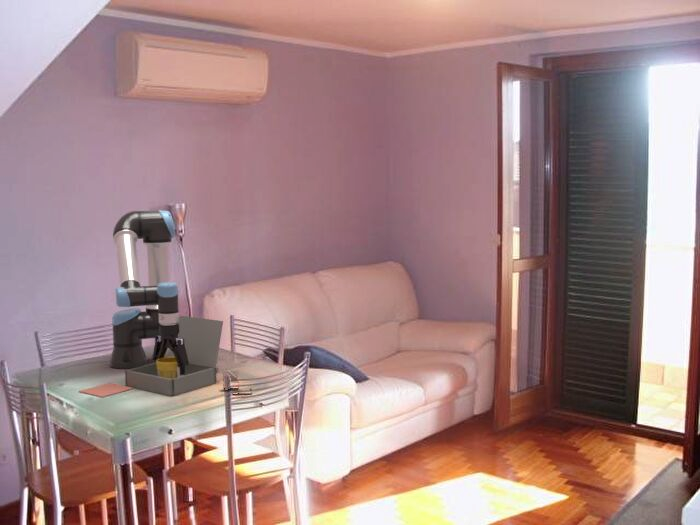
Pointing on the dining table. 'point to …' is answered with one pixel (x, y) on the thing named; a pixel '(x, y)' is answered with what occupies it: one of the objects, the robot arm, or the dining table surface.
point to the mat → (106, 390)
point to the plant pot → (167, 367)
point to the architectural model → (232, 378)
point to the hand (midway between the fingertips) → (171, 381)
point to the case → (201, 357)
